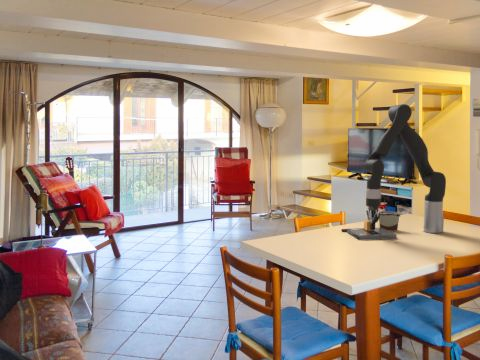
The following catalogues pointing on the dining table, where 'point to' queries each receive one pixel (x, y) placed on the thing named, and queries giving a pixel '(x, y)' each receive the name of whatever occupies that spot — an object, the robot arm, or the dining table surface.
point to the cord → (352, 234)
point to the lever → (367, 226)
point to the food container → (389, 220)
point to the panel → (373, 234)
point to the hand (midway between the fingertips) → (372, 229)
